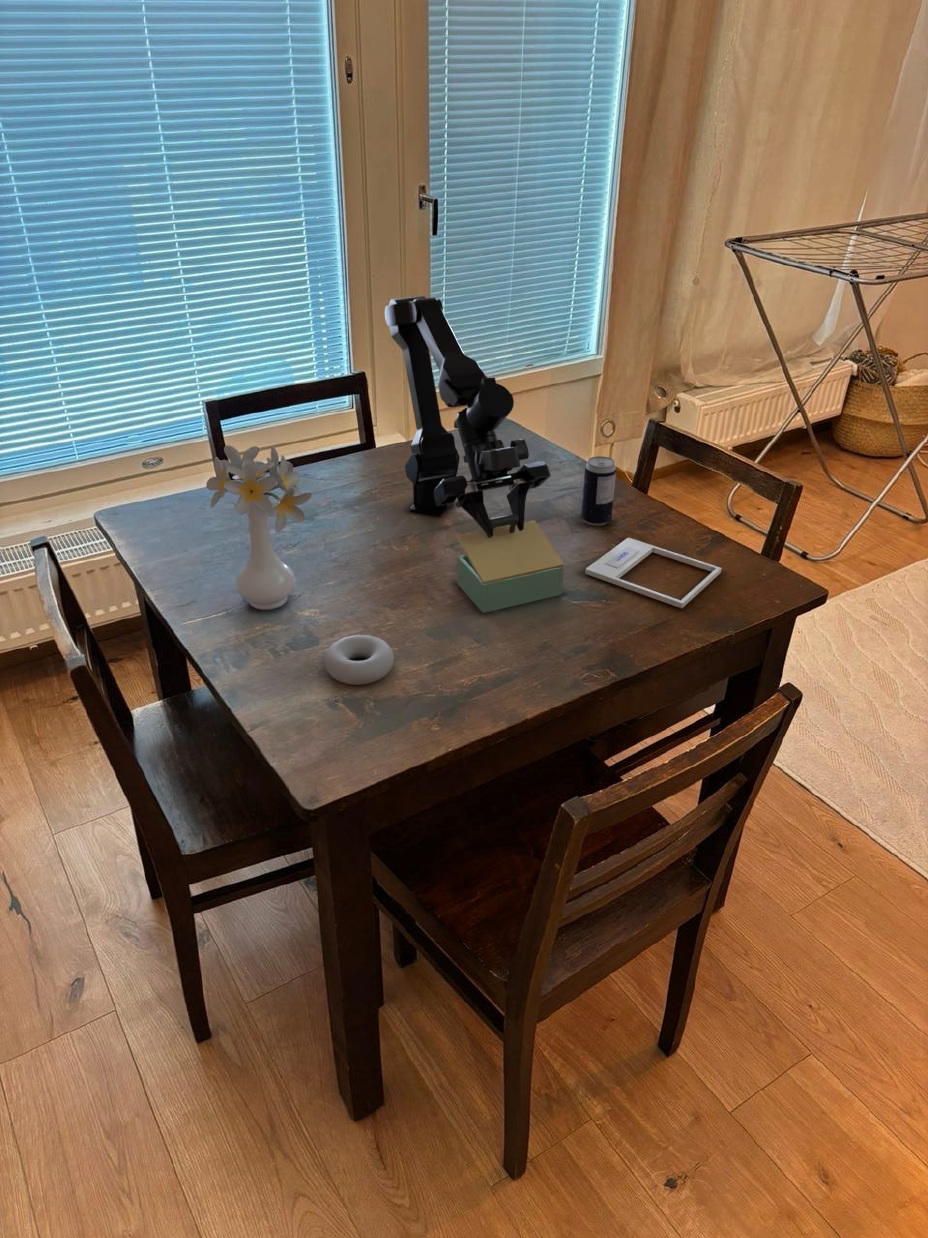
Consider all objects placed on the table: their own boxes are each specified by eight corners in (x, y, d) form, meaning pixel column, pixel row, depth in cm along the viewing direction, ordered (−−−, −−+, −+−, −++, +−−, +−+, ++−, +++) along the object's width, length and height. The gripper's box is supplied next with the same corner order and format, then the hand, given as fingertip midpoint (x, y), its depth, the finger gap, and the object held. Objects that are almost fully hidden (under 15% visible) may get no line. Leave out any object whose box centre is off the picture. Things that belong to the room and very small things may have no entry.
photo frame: (628, 536, 165) (721, 566, 156) (627, 541, 166) (720, 572, 156) (585, 567, 155) (682, 602, 146) (585, 573, 156) (681, 608, 147)
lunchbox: (457, 583, 153) (457, 556, 150) (532, 566, 158) (534, 539, 155) (482, 613, 145) (483, 585, 143) (561, 594, 150) (563, 567, 147)
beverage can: (610, 514, 175) (616, 455, 169) (611, 528, 170) (617, 468, 164) (580, 513, 176) (585, 454, 169) (580, 526, 171) (585, 466, 164)
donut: (393, 648, 137) (326, 650, 136) (393, 629, 135) (324, 630, 135) (395, 689, 129) (323, 691, 128) (394, 669, 127) (321, 670, 126)
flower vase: (286, 637, 139) (268, 485, 126) (203, 600, 148) (178, 454, 135) (343, 600, 148) (332, 455, 135) (261, 568, 157) (243, 428, 144)
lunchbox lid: (456, 538, 149) (459, 518, 146) (534, 522, 154) (538, 503, 151) (483, 584, 143) (486, 565, 139) (563, 566, 147) (568, 547, 144)
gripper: (441, 431, 139) (469, 529, 137) (550, 414, 145) (578, 507, 143) (421, 458, 149) (447, 549, 147) (524, 441, 156) (550, 528, 154)
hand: (506, 533), depth 148 cm, fingers closed on lunchbox lid, 5 cm apart
